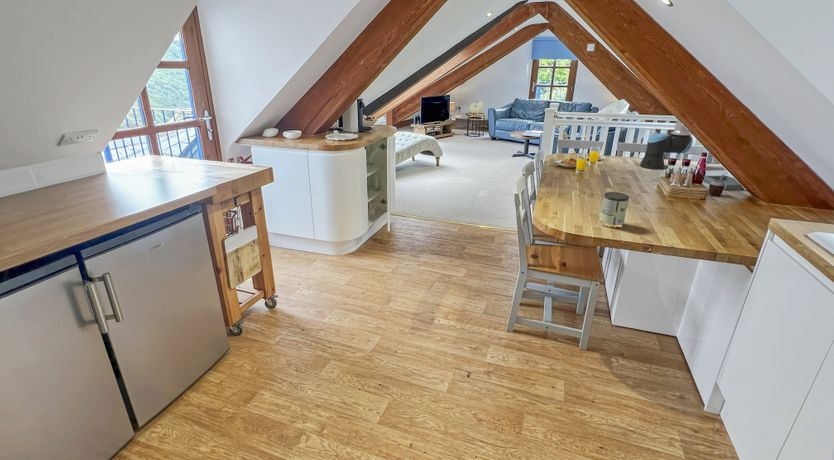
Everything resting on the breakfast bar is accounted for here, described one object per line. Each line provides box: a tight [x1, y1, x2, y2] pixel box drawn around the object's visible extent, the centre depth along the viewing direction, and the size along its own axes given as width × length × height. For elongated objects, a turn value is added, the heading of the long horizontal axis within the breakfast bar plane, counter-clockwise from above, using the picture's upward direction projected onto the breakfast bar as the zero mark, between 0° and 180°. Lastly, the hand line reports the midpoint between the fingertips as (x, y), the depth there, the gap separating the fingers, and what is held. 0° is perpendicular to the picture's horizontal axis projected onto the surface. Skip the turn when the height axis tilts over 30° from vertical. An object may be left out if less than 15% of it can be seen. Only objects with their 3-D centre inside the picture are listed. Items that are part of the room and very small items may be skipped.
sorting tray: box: [704, 175, 745, 191], centre depth 250 cm, size 20×15×4 cm
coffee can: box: [599, 191, 630, 225], centre depth 188 cm, size 10×10×14 cm
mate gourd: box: [707, 171, 728, 198], centre depth 229 cm, size 8×8×15 cm
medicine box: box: [704, 148, 721, 165], centre depth 242 cm, size 8×4×9 cm, turn 85°
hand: (710, 162), depth 243 cm, fingers closed on medicine box, 5 cm apart
